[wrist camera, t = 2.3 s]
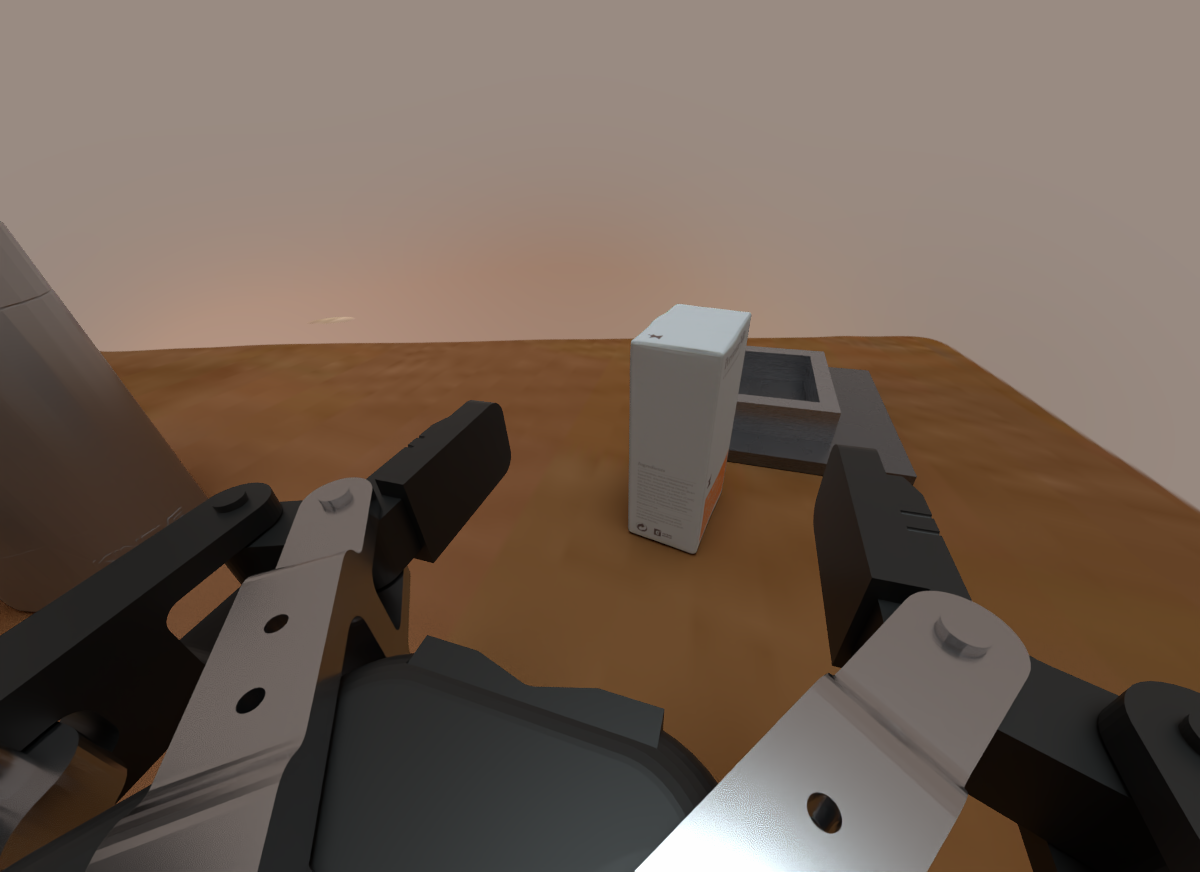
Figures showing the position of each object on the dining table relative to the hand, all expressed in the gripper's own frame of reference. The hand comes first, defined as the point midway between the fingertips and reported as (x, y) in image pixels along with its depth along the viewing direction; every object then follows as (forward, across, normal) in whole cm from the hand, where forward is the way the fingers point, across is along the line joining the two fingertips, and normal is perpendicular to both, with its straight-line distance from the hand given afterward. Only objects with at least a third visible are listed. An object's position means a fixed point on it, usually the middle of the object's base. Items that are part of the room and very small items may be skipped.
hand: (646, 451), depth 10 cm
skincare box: (+12, 0, +13) cm, 17 cm away
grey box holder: (+26, -4, +12) cm, 29 cm away
